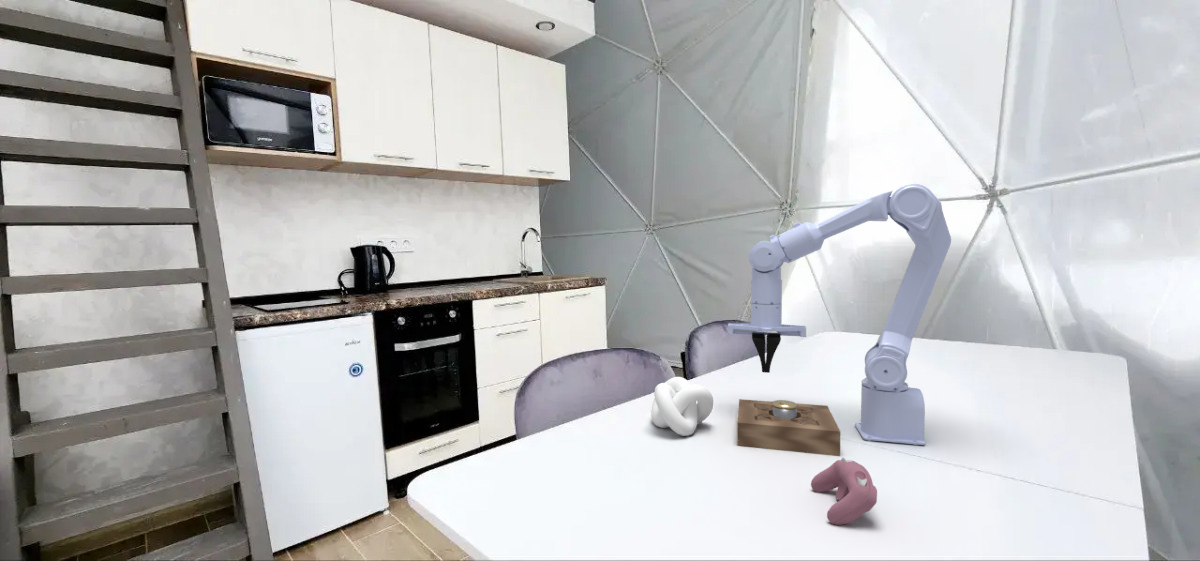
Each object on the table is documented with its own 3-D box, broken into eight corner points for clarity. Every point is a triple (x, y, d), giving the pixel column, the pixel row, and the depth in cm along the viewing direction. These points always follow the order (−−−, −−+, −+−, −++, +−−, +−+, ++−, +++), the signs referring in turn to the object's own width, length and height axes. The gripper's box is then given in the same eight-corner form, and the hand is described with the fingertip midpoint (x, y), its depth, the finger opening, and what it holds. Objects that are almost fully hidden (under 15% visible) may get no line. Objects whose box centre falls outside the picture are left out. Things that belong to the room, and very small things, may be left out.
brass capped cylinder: (795, 433, 90) (795, 401, 89) (797, 441, 86) (797, 407, 85) (771, 431, 91) (772, 399, 90) (773, 439, 87) (773, 405, 87)
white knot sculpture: (705, 417, 99) (705, 373, 98) (721, 439, 87) (721, 390, 86) (649, 418, 99) (649, 374, 98) (657, 441, 87) (657, 391, 86)
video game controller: (861, 542, 59) (891, 493, 58) (825, 522, 59) (854, 473, 58) (837, 501, 68) (862, 458, 67) (806, 484, 69) (831, 442, 68)
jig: (827, 426, 93) (827, 405, 93) (840, 455, 79) (840, 431, 79) (739, 419, 97) (739, 399, 97) (737, 445, 84) (737, 422, 84)
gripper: (727, 304, 95) (727, 373, 96) (808, 306, 91) (807, 378, 92) (728, 300, 102) (728, 365, 102) (804, 302, 98) (803, 369, 98)
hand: (765, 371), depth 97 cm, fingers closed
